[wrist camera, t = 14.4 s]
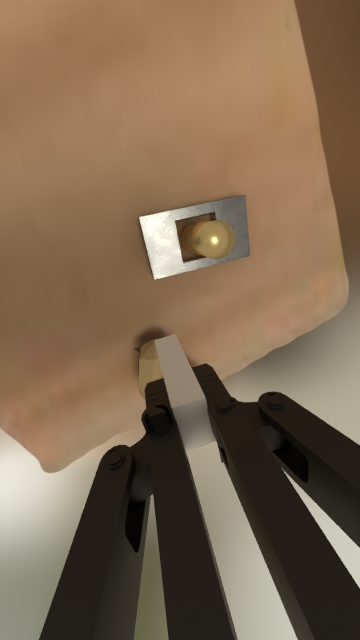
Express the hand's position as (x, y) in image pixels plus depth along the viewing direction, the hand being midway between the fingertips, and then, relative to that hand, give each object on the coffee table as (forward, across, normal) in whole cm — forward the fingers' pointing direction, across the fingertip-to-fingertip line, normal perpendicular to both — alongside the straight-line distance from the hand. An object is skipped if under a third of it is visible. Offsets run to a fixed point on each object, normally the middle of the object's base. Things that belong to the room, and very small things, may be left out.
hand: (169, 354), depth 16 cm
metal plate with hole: (+24, +10, +5) cm, 27 cm away
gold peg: (+24, +10, +5) cm, 27 cm away
